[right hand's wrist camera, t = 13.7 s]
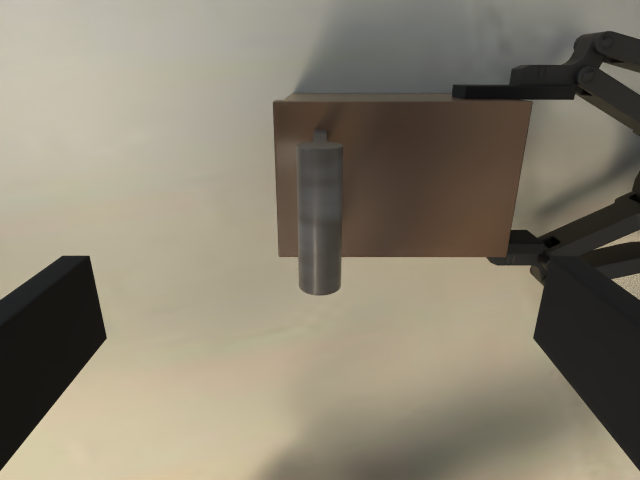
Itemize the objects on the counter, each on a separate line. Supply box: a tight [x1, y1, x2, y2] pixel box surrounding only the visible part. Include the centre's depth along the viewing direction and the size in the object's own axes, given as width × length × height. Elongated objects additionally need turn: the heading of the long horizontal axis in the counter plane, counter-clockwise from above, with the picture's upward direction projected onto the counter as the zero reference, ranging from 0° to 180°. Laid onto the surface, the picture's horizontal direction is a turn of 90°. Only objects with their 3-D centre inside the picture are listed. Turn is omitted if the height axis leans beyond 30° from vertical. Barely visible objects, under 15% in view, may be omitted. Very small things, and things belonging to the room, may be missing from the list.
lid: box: [273, 100, 532, 295], centre depth 22 cm, size 14×9×9 cm, turn 90°
